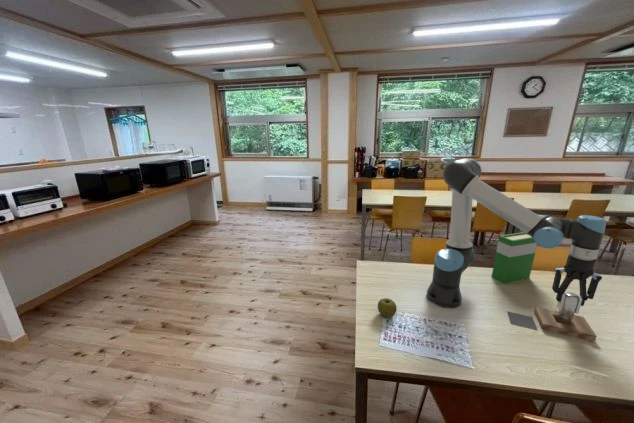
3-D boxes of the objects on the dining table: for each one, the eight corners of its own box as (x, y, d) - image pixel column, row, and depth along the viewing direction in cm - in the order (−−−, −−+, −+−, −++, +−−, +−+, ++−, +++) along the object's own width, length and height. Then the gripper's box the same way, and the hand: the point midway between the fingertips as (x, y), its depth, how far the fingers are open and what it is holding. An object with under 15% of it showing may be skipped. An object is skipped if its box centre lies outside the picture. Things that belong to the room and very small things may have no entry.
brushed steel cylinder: (560, 318, 108) (566, 296, 105) (556, 312, 112) (562, 290, 109) (574, 321, 106) (581, 299, 103) (570, 314, 110) (576, 293, 107)
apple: (379, 308, 123) (380, 294, 121) (397, 312, 120) (398, 298, 118) (375, 317, 117) (376, 303, 115) (394, 323, 114) (395, 308, 112)
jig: (541, 329, 109) (543, 323, 108) (533, 312, 119) (535, 306, 118) (594, 342, 102) (596, 336, 101) (581, 322, 112) (583, 316, 111)
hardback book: (516, 271, 153) (524, 231, 146) (529, 278, 146) (539, 236, 140) (491, 276, 148) (499, 235, 142) (503, 283, 142) (512, 240, 135)
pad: (510, 324, 112) (510, 323, 112) (506, 312, 120) (507, 311, 119) (537, 331, 108) (537, 330, 108) (532, 317, 116) (532, 316, 116)
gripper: (555, 256, 102) (542, 309, 109) (619, 265, 95) (600, 321, 101) (549, 249, 109) (537, 299, 115) (608, 256, 101) (592, 310, 108)
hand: (567, 310), depth 108 cm, fingers closed on brushed steel cylinder, 4 cm apart
